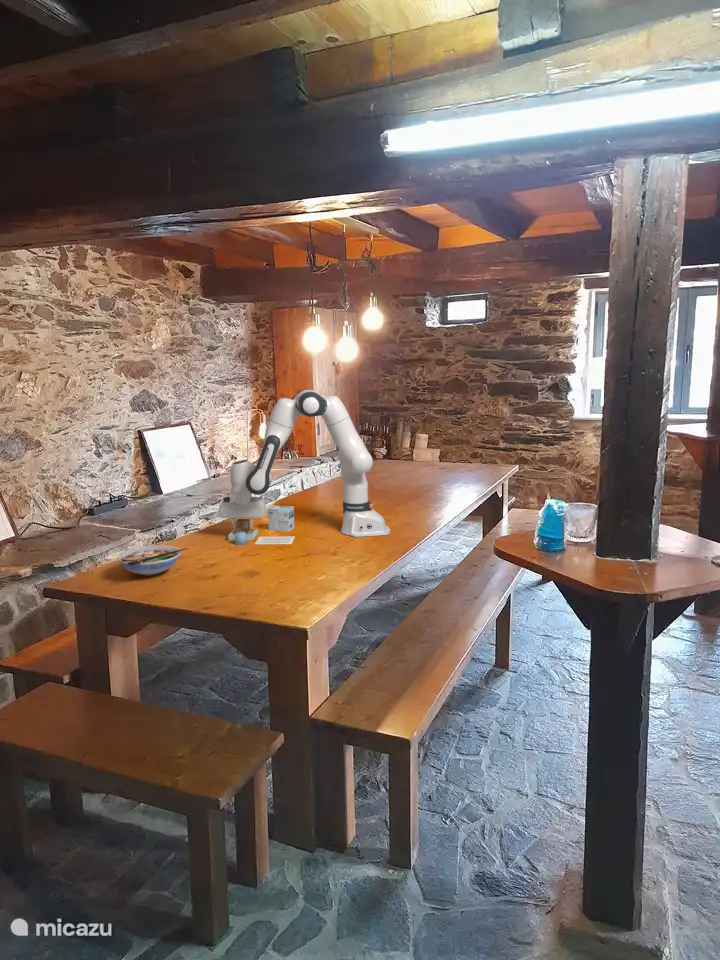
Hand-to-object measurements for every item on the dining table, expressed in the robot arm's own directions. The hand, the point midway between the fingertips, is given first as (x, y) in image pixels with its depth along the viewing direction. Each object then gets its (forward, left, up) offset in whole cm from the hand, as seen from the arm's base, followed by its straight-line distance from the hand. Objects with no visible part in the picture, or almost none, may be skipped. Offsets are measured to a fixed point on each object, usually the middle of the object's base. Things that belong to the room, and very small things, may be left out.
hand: (242, 527), depth 293 cm
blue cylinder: (-1, +10, -5) cm, 11 cm away
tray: (0, 0, -5) cm, 5 cm away
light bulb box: (-15, -14, -5) cm, 21 cm away
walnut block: (0, 0, -2) cm, 2 cm away
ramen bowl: (+25, +48, -5) cm, 55 cm away
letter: (-15, +5, -5) cm, 17 cm away
